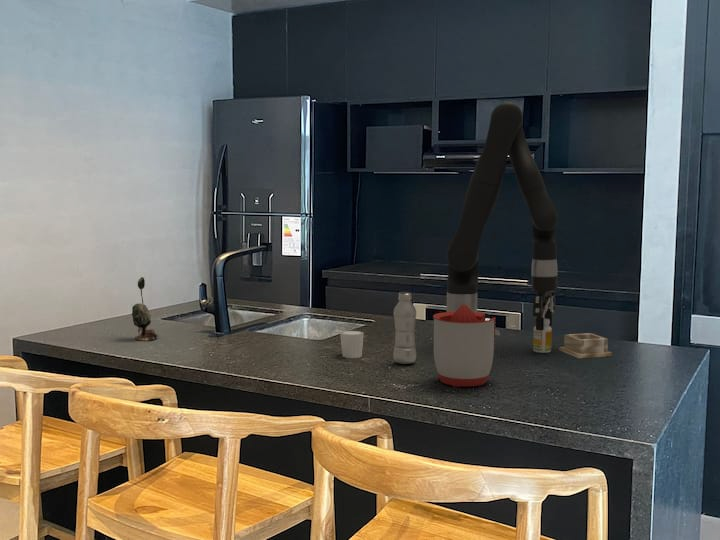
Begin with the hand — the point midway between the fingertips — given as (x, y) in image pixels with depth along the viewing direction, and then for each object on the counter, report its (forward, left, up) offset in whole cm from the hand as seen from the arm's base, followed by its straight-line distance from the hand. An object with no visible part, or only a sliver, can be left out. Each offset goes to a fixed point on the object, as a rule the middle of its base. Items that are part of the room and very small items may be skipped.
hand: (544, 327), depth 229 cm
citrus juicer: (-36, -28, -7) cm, 46 cm away
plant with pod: (-116, +49, -7) cm, 127 cm away
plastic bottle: (-45, -5, -7) cm, 46 cm away
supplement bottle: (0, 0, -7) cm, 7 cm away
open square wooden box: (+11, -6, -7) cm, 14 cm away
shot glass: (-57, +8, -7) cm, 58 cm away
